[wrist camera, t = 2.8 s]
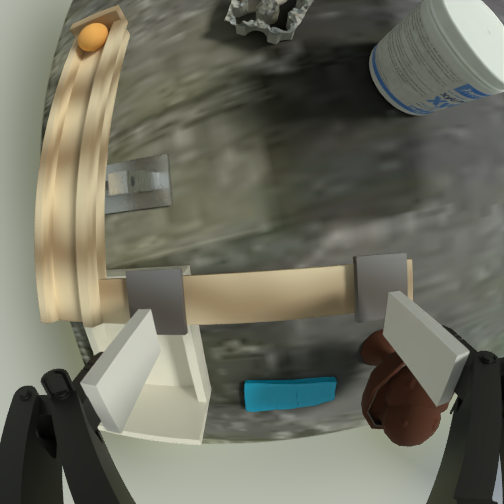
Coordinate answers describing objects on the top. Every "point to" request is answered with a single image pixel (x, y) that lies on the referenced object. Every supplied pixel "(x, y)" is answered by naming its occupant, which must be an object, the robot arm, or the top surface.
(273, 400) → the sponge
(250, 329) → the top surface
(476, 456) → the robot arm
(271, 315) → the beige angled channel
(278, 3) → the egg carton
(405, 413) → the ice cream bowl
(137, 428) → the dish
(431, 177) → the top surface
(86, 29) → the ball
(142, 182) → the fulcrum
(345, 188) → the top surface
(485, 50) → the supplement tub
